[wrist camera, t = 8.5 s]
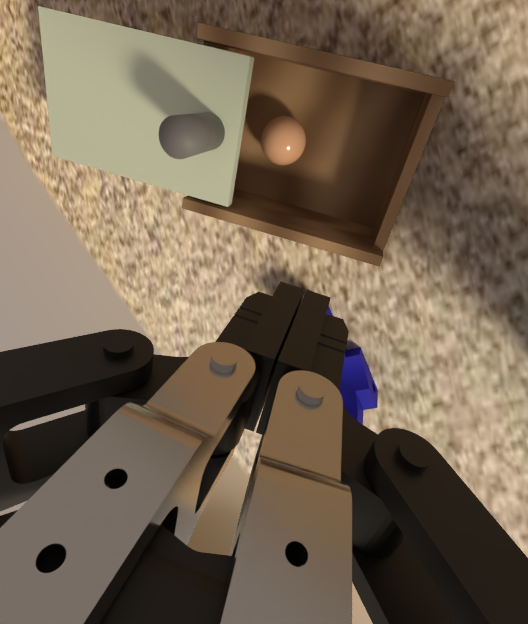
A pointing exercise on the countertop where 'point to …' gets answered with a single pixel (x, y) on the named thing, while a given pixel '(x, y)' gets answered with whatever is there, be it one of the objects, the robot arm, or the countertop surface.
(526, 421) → the countertop surface
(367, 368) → the blue curved stepped block
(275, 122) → the clay ball
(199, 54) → the cover plate
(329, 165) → the walnut box
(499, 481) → the countertop surface
